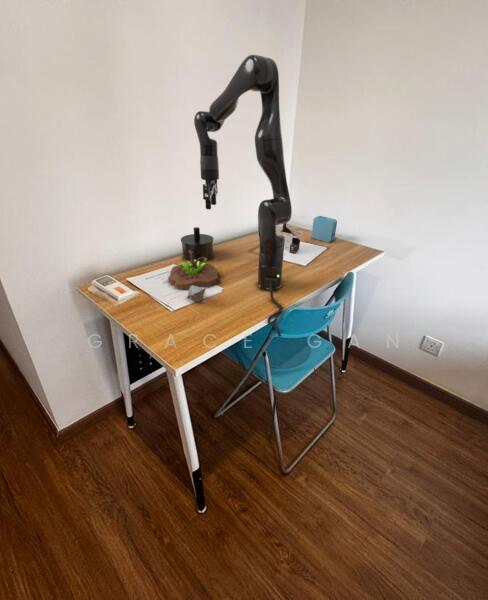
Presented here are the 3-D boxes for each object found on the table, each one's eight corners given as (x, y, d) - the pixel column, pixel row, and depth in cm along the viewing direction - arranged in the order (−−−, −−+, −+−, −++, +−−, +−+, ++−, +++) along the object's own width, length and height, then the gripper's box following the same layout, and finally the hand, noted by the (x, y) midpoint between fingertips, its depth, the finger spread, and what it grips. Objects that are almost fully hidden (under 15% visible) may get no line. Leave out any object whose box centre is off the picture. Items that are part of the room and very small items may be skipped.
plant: (213, 265, 141) (212, 241, 136) (223, 285, 125) (222, 258, 120) (166, 270, 136) (163, 245, 130) (170, 291, 120) (167, 263, 114)
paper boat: (182, 290, 118) (204, 280, 121) (190, 306, 119) (212, 295, 121) (184, 287, 107) (209, 276, 109) (193, 304, 107) (217, 293, 110)
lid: (208, 248, 138) (207, 234, 135) (175, 245, 140) (174, 231, 137) (217, 237, 151) (216, 224, 148) (187, 235, 153) (186, 222, 150)
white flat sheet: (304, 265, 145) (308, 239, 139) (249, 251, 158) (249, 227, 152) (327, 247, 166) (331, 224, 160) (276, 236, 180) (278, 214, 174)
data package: (334, 241, 176) (337, 219, 170) (330, 243, 173) (333, 221, 167) (315, 236, 182) (317, 215, 176) (311, 238, 179) (313, 216, 173)
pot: (208, 264, 142) (207, 246, 138) (178, 261, 144) (177, 243, 140) (216, 253, 154) (216, 236, 150) (188, 251, 156) (187, 234, 152)
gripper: (205, 164, 139) (207, 202, 147) (195, 168, 127) (198, 210, 135) (222, 165, 139) (223, 203, 146) (213, 169, 126) (215, 211, 134)
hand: (211, 206), depth 141 cm, fingers open, 8 cm apart
